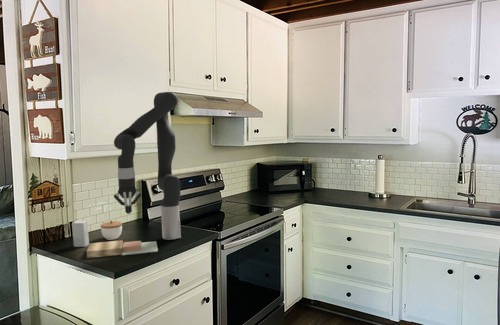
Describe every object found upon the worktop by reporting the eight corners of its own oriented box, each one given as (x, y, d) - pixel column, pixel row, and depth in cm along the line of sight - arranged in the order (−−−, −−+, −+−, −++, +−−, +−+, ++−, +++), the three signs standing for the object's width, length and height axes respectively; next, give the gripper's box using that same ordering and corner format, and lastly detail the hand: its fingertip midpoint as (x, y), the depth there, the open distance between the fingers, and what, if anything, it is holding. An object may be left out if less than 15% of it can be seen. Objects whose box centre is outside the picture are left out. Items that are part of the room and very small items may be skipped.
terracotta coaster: (141, 245, 193) (140, 240, 193) (141, 249, 186) (141, 245, 185) (124, 246, 191) (123, 242, 191) (123, 251, 183) (123, 247, 183)
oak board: (123, 246, 193) (122, 240, 193) (122, 254, 181) (121, 248, 181) (90, 249, 189) (89, 243, 189) (86, 258, 177) (86, 251, 177)
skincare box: (89, 244, 198) (88, 220, 197) (85, 247, 193) (83, 223, 192) (77, 244, 198) (76, 220, 197) (73, 247, 194) (71, 223, 193)
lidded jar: (124, 234, 214) (123, 217, 213) (121, 240, 204) (120, 222, 203) (103, 236, 213) (102, 219, 212) (99, 241, 202) (98, 223, 201)
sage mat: (156, 242, 199) (156, 241, 199) (157, 251, 184) (157, 250, 184) (123, 245, 195) (123, 244, 195) (121, 255, 180) (121, 254, 179)
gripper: (141, 175, 191) (142, 210, 192) (112, 177, 187) (114, 213, 189) (141, 177, 183) (143, 213, 185) (111, 179, 180) (113, 216, 181)
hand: (128, 213), depth 187 cm, fingers closed
